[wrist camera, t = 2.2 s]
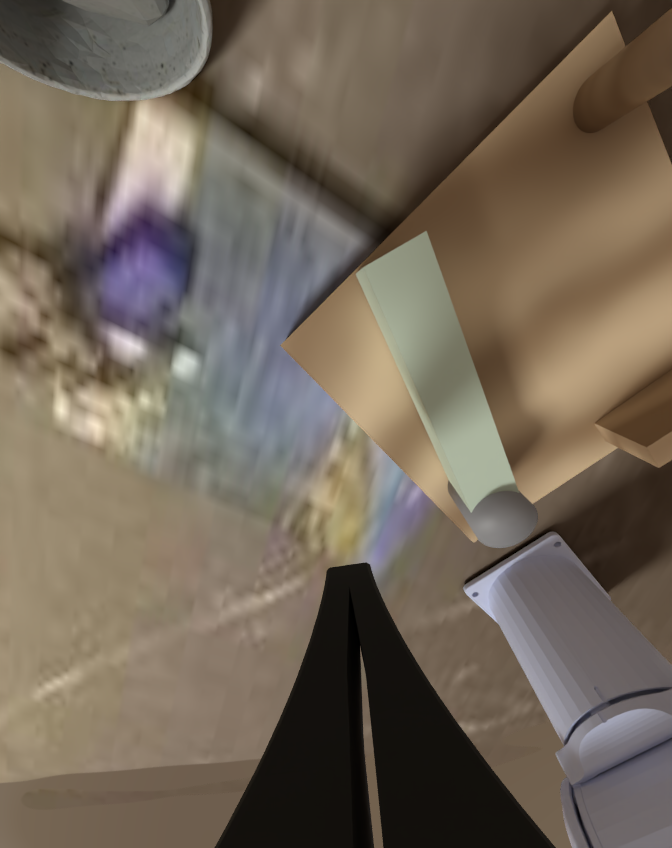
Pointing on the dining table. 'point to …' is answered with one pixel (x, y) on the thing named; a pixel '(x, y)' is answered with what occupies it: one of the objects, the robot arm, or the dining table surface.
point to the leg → (446, 390)
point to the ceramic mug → (107, 44)
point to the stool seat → (538, 280)
